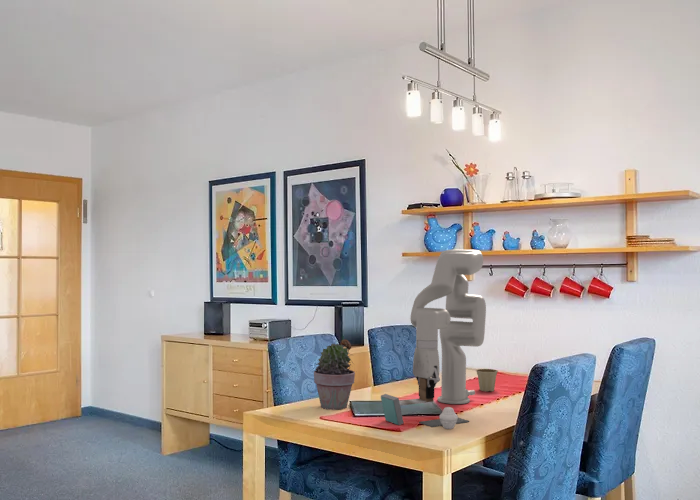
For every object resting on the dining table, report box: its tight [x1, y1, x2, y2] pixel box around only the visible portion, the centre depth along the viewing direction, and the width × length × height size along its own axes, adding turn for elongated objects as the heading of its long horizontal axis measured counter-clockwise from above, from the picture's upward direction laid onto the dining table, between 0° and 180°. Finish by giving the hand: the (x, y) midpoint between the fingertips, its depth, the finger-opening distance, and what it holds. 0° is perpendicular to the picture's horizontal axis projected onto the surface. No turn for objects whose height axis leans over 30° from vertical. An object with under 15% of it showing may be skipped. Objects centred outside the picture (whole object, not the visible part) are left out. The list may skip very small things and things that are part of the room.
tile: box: [380, 393, 405, 426], centre depth 235 cm, size 2×8×9 cm, turn 31°
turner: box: [399, 378, 434, 407], centre depth 239 cm, size 16×4×8 cm, turn 121°
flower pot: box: [475, 368, 499, 392], centre depth 297 cm, size 9×9×9 cm
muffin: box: [438, 406, 459, 430], centre depth 228 cm, size 6×6×7 cm
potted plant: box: [313, 339, 356, 411], centre depth 258 cm, size 18×20×25 cm
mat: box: [418, 417, 470, 428], centre depth 236 cm, size 16×7×1 cm, turn 121°
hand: (426, 396), depth 242 cm, fingers closed on turner, 3 cm apart
